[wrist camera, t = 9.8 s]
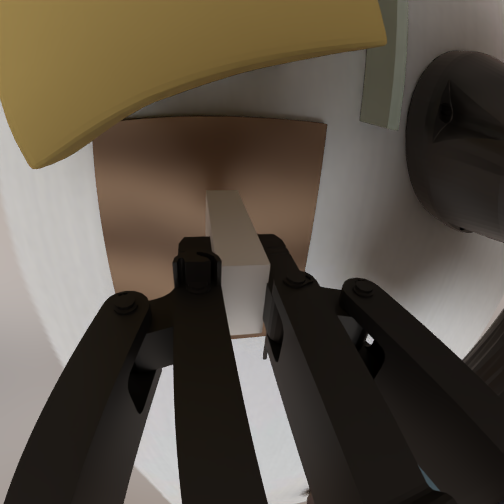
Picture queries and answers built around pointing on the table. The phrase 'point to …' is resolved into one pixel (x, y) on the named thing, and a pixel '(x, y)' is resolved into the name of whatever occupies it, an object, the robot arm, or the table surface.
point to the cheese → (149, 56)
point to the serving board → (201, 187)
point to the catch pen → (387, 69)
